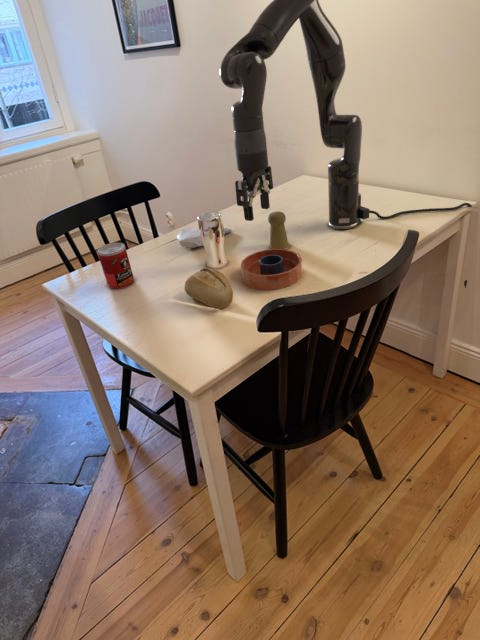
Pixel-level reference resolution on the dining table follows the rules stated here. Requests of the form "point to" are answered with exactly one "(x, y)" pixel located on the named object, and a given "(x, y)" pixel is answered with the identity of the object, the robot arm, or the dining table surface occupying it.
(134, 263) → the dining table surface
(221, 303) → the bread roll
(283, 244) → the cork
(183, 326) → the dining table surface
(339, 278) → the dining table surface
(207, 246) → the beer glass
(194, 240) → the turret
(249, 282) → the serving bowl
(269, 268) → the bowl
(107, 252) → the canned food
